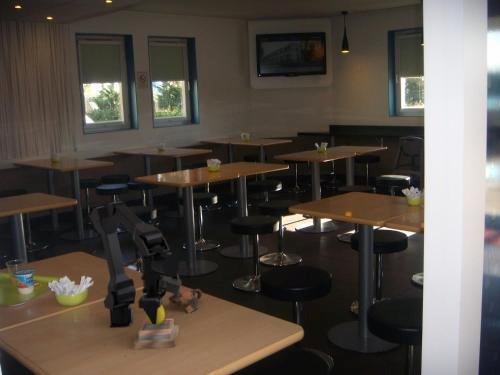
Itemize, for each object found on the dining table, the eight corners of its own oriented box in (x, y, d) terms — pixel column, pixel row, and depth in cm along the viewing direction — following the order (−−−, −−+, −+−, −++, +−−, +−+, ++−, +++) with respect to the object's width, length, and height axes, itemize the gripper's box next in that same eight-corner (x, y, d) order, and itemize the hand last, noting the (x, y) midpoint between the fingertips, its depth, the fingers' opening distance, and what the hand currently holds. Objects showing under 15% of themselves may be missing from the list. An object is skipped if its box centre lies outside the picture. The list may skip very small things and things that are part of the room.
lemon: (161, 330, 170) (159, 304, 169) (144, 329, 171) (142, 304, 170) (168, 323, 176) (166, 298, 175) (151, 322, 177) (149, 297, 176)
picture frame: (134, 349, 168) (133, 334, 167) (141, 333, 180) (139, 318, 179) (175, 346, 168) (173, 331, 168) (179, 330, 180) (178, 316, 179)
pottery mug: (182, 317, 192) (170, 296, 193) (174, 321, 200) (162, 301, 201) (210, 300, 199) (199, 279, 200) (201, 305, 207) (190, 285, 208)
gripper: (175, 278, 162) (179, 331, 164) (181, 260, 180) (185, 307, 183) (136, 280, 162) (140, 333, 164) (146, 262, 180) (150, 309, 182)
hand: (155, 320), depth 173 cm, fingers open, 6 cm apart
